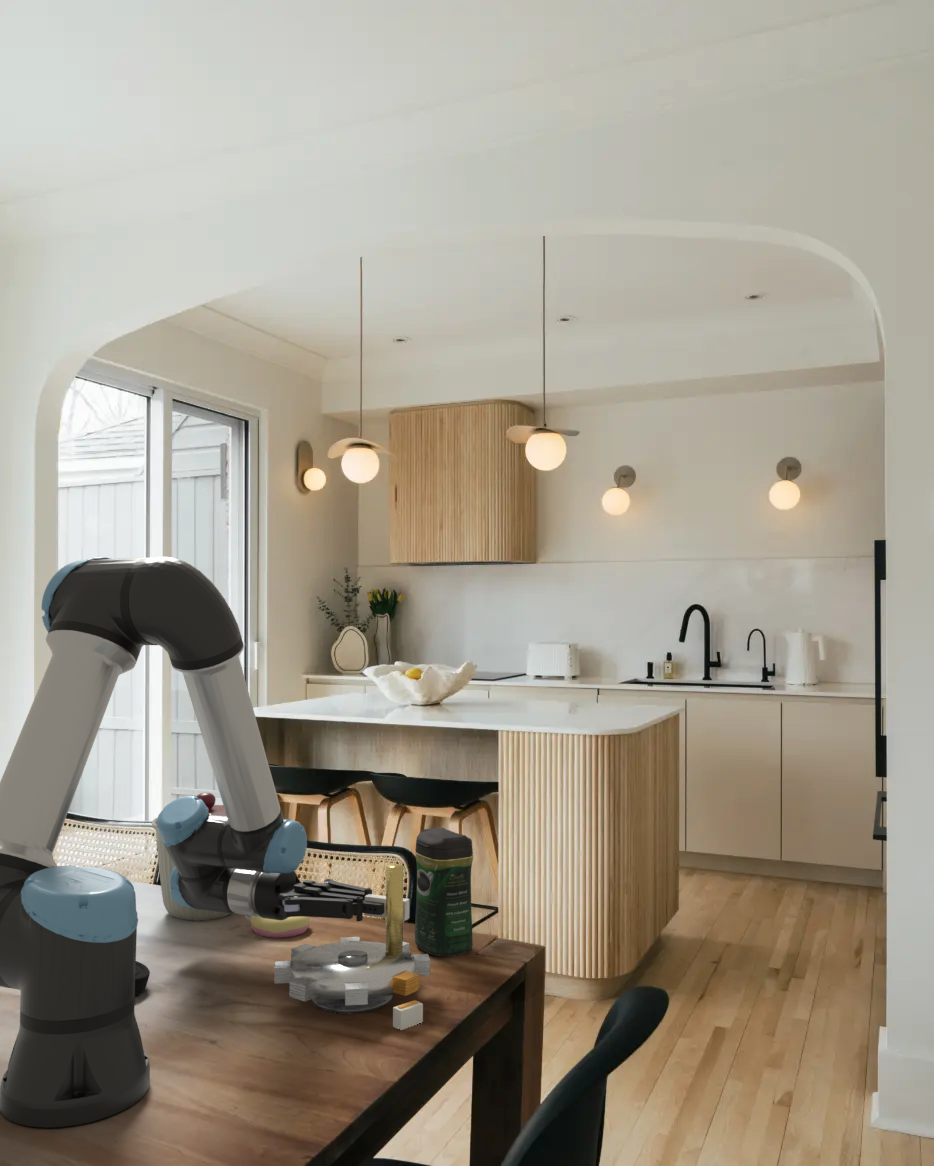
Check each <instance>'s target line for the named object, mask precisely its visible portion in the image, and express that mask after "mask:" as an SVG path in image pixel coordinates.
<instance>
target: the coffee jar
mask: <svg viewBox="0 0 934 1166" xmlns="http://www.w3.org/2000/svg"><path fill="white" fill-rule="evenodd" d="M473 850H474V849H473V842H472V839H471V838H470V837H468V836H467V835H465V834H461V833H457V832H456V831H455V832H454V831H452V830H450V829H446V828H445V827H435V828H434V827H433V828H425V829H422V830H421V832H419V833H418V835H417V836H416V840H415V854H414V855H415V861H416V862H415V863H416V905H415V921H414V922H415V924H414V942H415V943H414V944H415V945H416V946H417V947H419V949H420V950H422V951H425V952H426V953H427V954H430V955H432V956H436V957H438V956H439V957H440V956H447V957H448V956H449V957H457V956H456V955H458V956H462V955H463V954H465V953H467V952H469V951H471V950H472V948H473V943H474V942H473V940H474V939H473V915H472V913H473V912H472V866H473V860H474V855H473V854H474V853H473Z"/></svg>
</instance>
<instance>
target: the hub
mask: <svg viewBox="0 0 934 1166" xmlns="http://www.w3.org/2000/svg"><path fill="white" fill-rule="evenodd" d="M393 998H394V993H390V994H386V995H382V996H377V997H371V998H368V1004H365V1005H347V1006H345V999H330V998H322V997H315V998H312V999H311V1003H312V1004H313V1005H315V1006H314V1007H316V1008H317V1009H319V1010H321V1009H323V1010H322V1011H324V1010H326V1011H325V1012H327V1011H331V1012H336V1013H335V1014H339V1013H346V1014H345V1015H348V1014H347V1013H354V1014H355V1013H358V1014H364V1013H369V1012H374V1011H377V1010H381V1009H383V1008H385V1007H387V1006H388V1005H390V1004H391V1002H392V1001H393ZM331 1012H330V1013H331ZM354 1014H353V1015H354ZM355 1015H356V1014H355Z"/></svg>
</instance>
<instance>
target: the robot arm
mask: <svg viewBox="0 0 934 1166" xmlns="http://www.w3.org/2000/svg"><path fill="white" fill-rule="evenodd" d="M41 611H44V615H42V617H41V619H42V623H43V625H44V627H45V629H46V631H47V635H46V637H45V641H46V644H47V646H48V647H49V649H50V651H51V654H52V655H51V657H50V660H49V663H48V665H47V668H46V670H45V671H44V675H43V677H42V680H41V681H40V684H39V686H38V689H37V692H36V694H35V697H34V699H33V700H32V704H31V706H30V709H29V711H28V714H27V716H26V718H25V721H24V722H23V726H22V728H21V731H20V732H19V735H18V738H17V740H16V743H15V745H14V747H13V750H12V753H11V755H10V758H9V759H8V762H7V765H6V767H5V770H4V771H3V774H2V776H1V779H0V988H8V989H14V990H18V991H20V995H19V996H20V998H19V1000H20V1001H19V1003H20V1004H19V1005H20V1006H19V1028H18V1033H17V1035H16V1039H15V1042H14V1045H13V1047H12V1050H11V1053H10V1057H9V1061H8V1065H7V1070H6V1071H5V1072H4V1074H3V1077H2V1079H1V1081H0V1113H1V1114H2V1115H3V1117H4V1118H5V1119H7V1120H9V1121H11V1122H12V1123H15V1124H19V1125H23V1126H27V1127H33V1128H62V1127H63V1128H64V1127H70V1126H71V1127H72V1126H77V1125H83V1124H87V1123H88V1124H89V1123H92V1122H96V1121H99V1120H102V1119H105V1118H109V1117H111V1116H114V1115H117V1114H118V1113H120V1112H122V1111H124V1110H126V1109H128V1108H130V1107H132V1106H133V1105H135V1104H136V1103H137V1102H138V1101H140V1100H141V1099H142V1098H143V1097H144V1096H145V1094H146V1093H147V1091H148V1090H149V1088H150V1084H151V1082H150V1079H151V1077H150V1076H151V1075H150V1074H151V1064H150V1063H151V1062H150V1058H149V1055H148V1054H147V1052H146V1051H145V1050H144V1047H143V1042H142V1035H141V1032H140V1028H139V1026H138V1025H139V1024H138V1022H137V1018H136V1013H135V998H136V996H135V968H136V961H137V932H138V923H139V918H138V911H137V899H136V898H137V897H136V891H135V888H134V884H133V883H132V882H131V881H130V879H128V878H127V877H126V876H125V875H123V874H121V873H120V872H117V871H113V870H110V869H108V868H103V867H98V866H91V865H83V866H76V865H61V866H58V865H57V863H56V861H55V859H54V855H53V854H54V851H55V848H56V846H57V843H58V840H59V838H60V834H61V832H62V829H63V827H64V823H65V821H66V818H67V815H68V813H69V811H70V808H71V804H72V802H73V799H74V796H75V794H76V792H77V788H78V786H79V784H80V780H81V779H82V775H83V772H84V770H85V767H86V764H87V761H88V759H89V756H90V754H91V751H92V748H93V746H94V742H95V740H96V738H97V735H98V732H99V730H100V727H101V724H102V721H103V718H104V715H105V713H106V711H107V708H108V705H109V702H110V699H111V697H112V694H113V692H114V689H115V686H116V683H117V681H118V679H119V676H120V675H122V674H124V673H127V672H129V671H131V670H133V669H134V668H135V666H136V664H137V662H138V658H139V656H140V653H141V650H142V648H143V647H144V646H160V647H161V648H163V649H164V651H165V652H167V654H168V657H169V659H170V664H171V666H172V668H173V669H174V670H175V671H178V672H179V673H182V675H183V679H184V682H185V685H186V688H187V691H188V693H189V695H188V696H189V698H190V701H191V705H192V708H193V710H194V714H195V716H196V718H195V719H196V720H197V724H198V727H199V731H200V734H201V737H202V740H203V744H204V746H205V749H206V753H207V755H208V759H209V763H210V765H211V769H212V772H213V773H212V774H213V776H214V778H215V779H214V780H215V782H216V785H217V789H218V792H219V795H220V797H221V802H222V805H224V808H225V812H226V815H222V814H211V813H209V810H208V807H207V806H206V805H205V803H204V802H203V801H202V800H201V799H200V798H198V797H197V796H196V795H195V796H194V795H186V796H182V797H179V798H176V799H174V800H173V801H171V802H169V803H168V804H166V805H165V806H164V807H163V808H162V810H161V811H160V812H159V814H158V816H157V817H156V818H157V827H158V830H159V833H160V835H161V838H162V843H163V845H164V846H165V848H166V850H167V852H168V854H169V856H170V858H171V860H172V862H173V863H174V865H175V867H174V868H173V870H172V873H171V876H170V880H169V884H170V886H171V889H170V895H171V897H172V899H173V900H174V901H175V902H176V903H177V904H179V905H181V906H186V907H191V908H193V909H196V910H208V911H216V912H224V913H231V914H235V915H242V916H245V919H248V920H250V919H251V920H252V917H253V916H255V917H262V918H267V919H274V920H285V919H287V918H288V917H297V916H304V917H309V918H324V919H325V918H326V919H346V920H351V919H353V918H354V917H353V916H356V917H355V918H356V922H362V921H363V918H364V916H368V917H374V918H375V917H376V918H381V919H382V918H383V919H386V895H380V894H373V889H372V888H371V887H370V886H369V887H367V888H366V887H362V886H357V885H354V884H353V885H352V884H348V883H343V882H338V881H336V880H333V879H331V878H325V879H324V883H323V882H322V883H320V882H316V881H315V880H310V879H306V880H303V881H300V879H299V877H298V874H297V872H296V870H297V869H298V868H299V867H300V865H302V863H303V861H304V858H305V856H306V853H307V848H308V847H307V846H308V837H307V832H306V828H305V826H304V825H302V824H301V822H299V821H296V820H292V819H290V818H285V817H284V814H283V811H282V807H281V806H280V801H279V798H278V794H277V790H276V787H275V783H274V780H273V776H272V771H271V770H270V766H269V761H268V758H267V754H266V750H265V746H264V743H263V740H262V735H261V731H260V729H259V726H258V721H257V719H256V718H257V717H256V715H255V711H254V707H253V704H252V703H253V702H252V700H251V697H250V692H249V688H248V686H247V681H246V679H245V675H244V670H243V667H242V663H241V660H240V655H241V654H242V652H243V651H244V648H245V645H244V642H243V637H242V635H241V631H240V628H239V625H238V622H237V620H236V618H235V615H234V614H233V611H232V609H231V608H230V606H229V604H228V602H227V601H226V598H225V597H224V596H223V594H222V593H221V592H220V590H219V589H218V588H217V587H216V585H215V584H214V583H213V582H212V581H211V580H210V579H209V578H208V577H207V576H206V575H205V574H204V573H203V572H202V571H201V570H199V569H198V568H197V567H195V566H193V565H192V564H190V563H188V562H186V561H184V560H181V559H178V558H175V557H171V556H170V557H169V556H153V557H131V558H130V557H127V558H126V557H125V558H110V557H102V556H101V557H100V556H98V557H90V558H88V559H80V560H75V561H72V562H70V563H67V564H66V565H64V566H63V567H62V568H60V569H58V571H56V572H55V574H54V575H53V576H52V577H51V579H50V580H49V581H48V583H47V585H46V588H45V589H44V592H43V595H42V599H41ZM410 901H411V900H410V898H404V897H403V922H405V921H408V920H409V919H410ZM363 914H364V915H363Z"/></svg>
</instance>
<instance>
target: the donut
mask: <svg viewBox="0 0 934 1166" xmlns="http://www.w3.org/2000/svg"><path fill="white" fill-rule="evenodd" d="M310 924H311V917H304V916H297V917H288V918H287V919H285V920H274V919H267V918H262V917H255V916H252V918H251V922H250V925H251V928H252V930H253V931H254V932H255V933H256V934H257V935H259V936H263V937H265V938H277V939H278V938H279V939H281V938H291V937H292V938H293V937H297V936H298V935H302V934H303V933H305V932H306V931H307V930H308V929H309V927H310Z"/></svg>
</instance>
